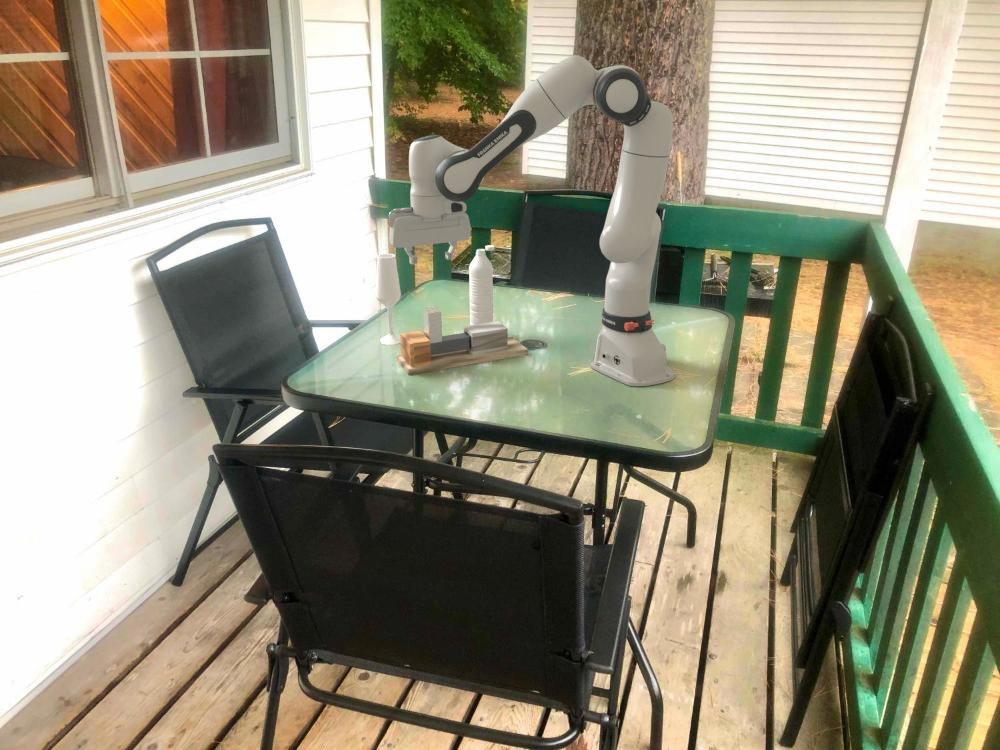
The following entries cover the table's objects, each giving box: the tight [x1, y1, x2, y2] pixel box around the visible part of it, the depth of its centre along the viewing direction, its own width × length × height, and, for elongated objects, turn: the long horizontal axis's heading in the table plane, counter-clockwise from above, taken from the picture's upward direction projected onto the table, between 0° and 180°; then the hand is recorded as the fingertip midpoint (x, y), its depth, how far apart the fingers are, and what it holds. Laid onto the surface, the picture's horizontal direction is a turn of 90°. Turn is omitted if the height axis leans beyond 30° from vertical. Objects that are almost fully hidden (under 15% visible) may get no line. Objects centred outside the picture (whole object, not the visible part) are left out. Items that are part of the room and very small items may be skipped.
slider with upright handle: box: [422, 306, 471, 355], centre depth 198 cm, size 4×22×11 cm, turn 114°
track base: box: [396, 321, 529, 375], centre depth 201 cm, size 10×33×8 cm, turn 114°
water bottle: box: [468, 244, 495, 326], centre depth 212 cm, size 9×6×25 cm
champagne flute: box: [375, 253, 402, 346], centre depth 209 cm, size 7×7×24 cm
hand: (431, 261), depth 191 cm, fingers open, 8 cm apart
